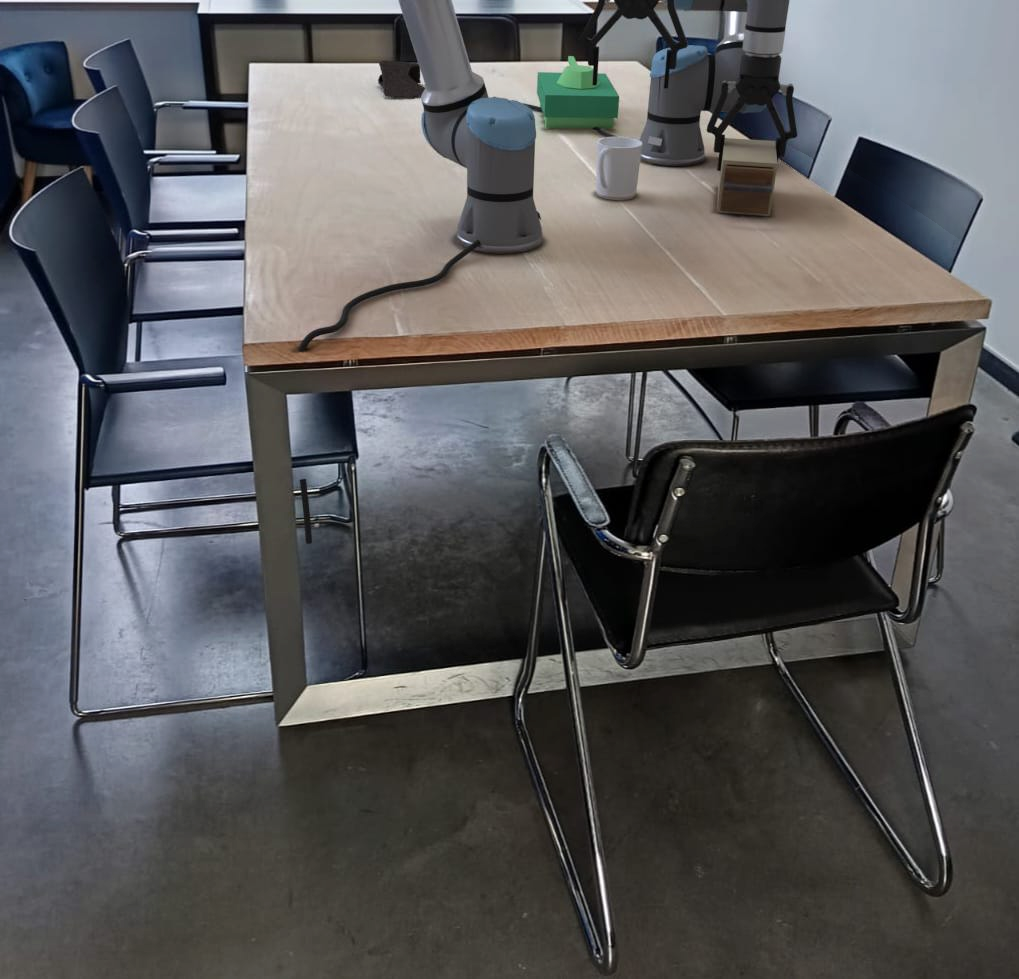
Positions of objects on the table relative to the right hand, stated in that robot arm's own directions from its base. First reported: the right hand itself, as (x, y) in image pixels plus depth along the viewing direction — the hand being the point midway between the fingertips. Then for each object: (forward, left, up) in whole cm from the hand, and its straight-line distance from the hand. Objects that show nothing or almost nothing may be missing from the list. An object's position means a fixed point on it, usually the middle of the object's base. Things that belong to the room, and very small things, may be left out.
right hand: (746, 170), depth 220 cm
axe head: (-112, -44, -5) cm, 120 cm away
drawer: (+8, -4, -4) cm, 10 cm away
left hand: (-7, -24, +16) cm, 30 cm away
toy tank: (-74, -9, -5) cm, 74 cm away
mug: (-7, -26, -5) cm, 27 cm away
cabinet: (+3, -2, -5) cm, 6 cm away
